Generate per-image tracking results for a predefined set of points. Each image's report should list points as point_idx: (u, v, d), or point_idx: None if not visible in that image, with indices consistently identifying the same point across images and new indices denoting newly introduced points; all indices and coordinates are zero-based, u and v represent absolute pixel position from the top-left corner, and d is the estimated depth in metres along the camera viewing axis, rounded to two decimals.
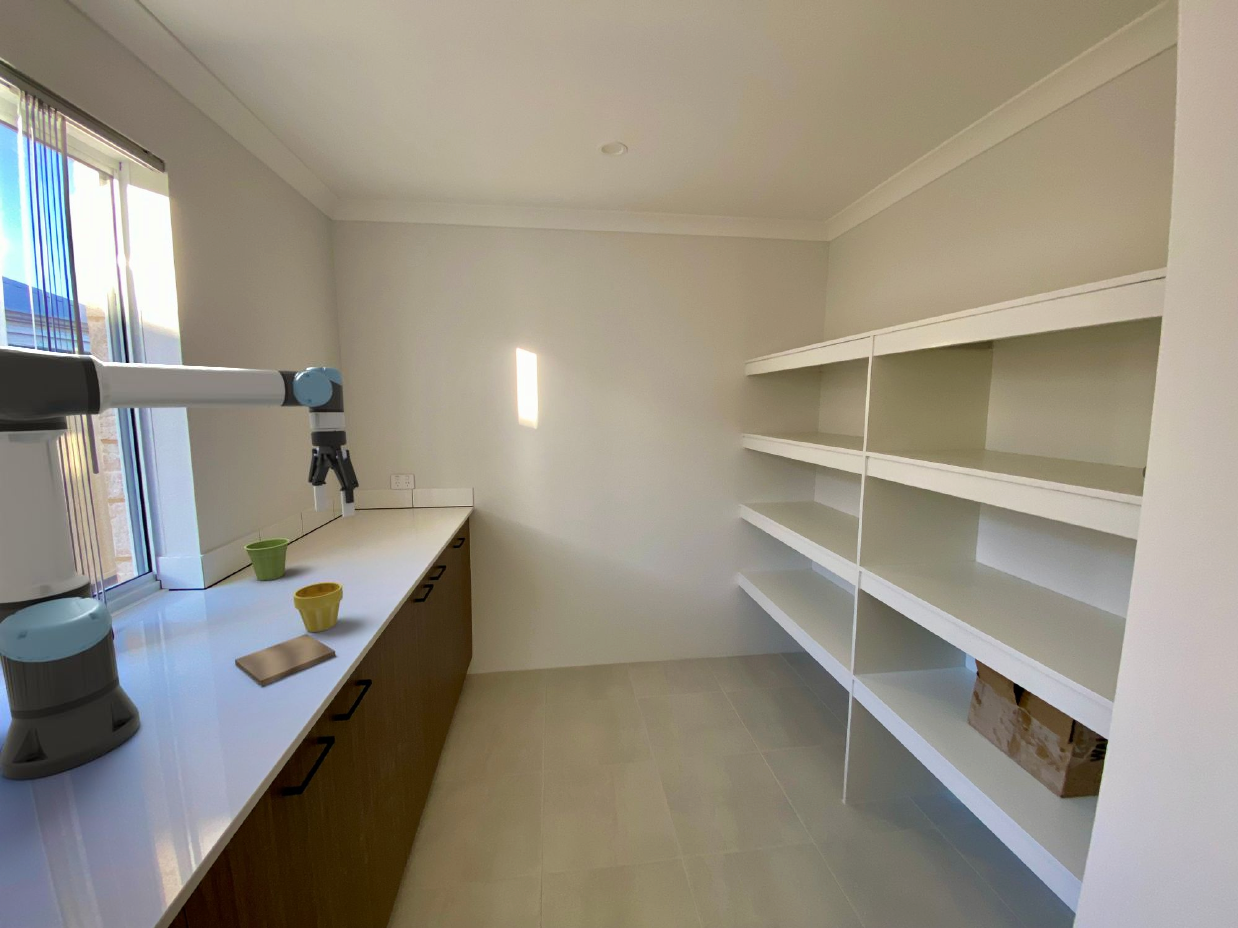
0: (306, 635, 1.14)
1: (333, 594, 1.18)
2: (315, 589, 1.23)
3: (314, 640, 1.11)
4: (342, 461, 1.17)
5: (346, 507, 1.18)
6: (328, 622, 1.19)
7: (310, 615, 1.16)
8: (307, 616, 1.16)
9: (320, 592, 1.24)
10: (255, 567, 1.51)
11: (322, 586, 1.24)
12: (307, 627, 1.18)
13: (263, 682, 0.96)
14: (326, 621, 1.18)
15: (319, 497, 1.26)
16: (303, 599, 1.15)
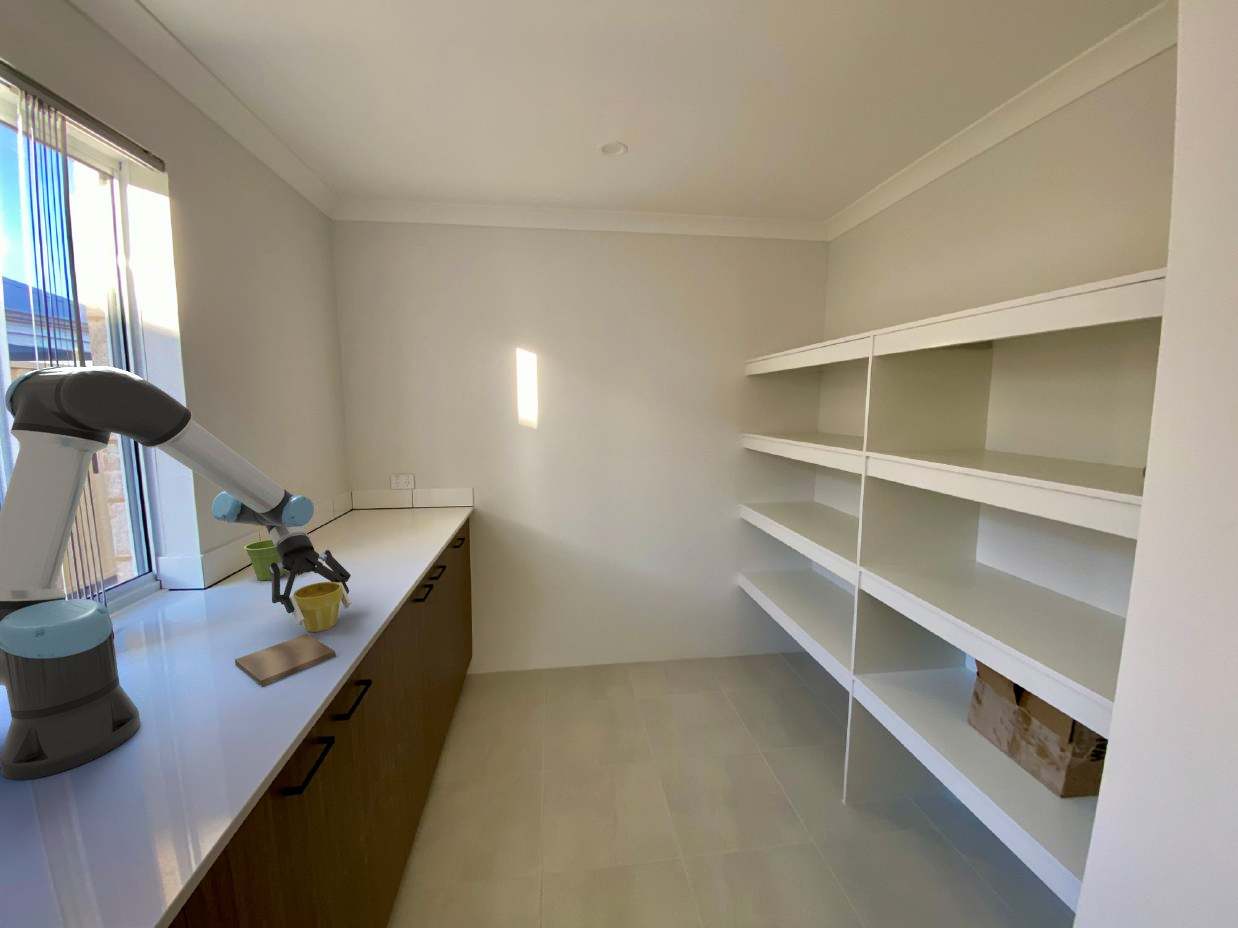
0: (306, 635, 1.14)
1: (333, 594, 1.18)
2: (315, 589, 1.23)
3: (314, 640, 1.11)
4: None
5: None
6: (328, 622, 1.19)
7: (310, 615, 1.16)
8: (307, 616, 1.16)
9: (320, 592, 1.24)
10: (255, 567, 1.51)
11: (322, 586, 1.24)
12: (307, 627, 1.18)
13: (263, 682, 0.96)
14: (326, 621, 1.18)
15: None
16: (303, 599, 1.15)
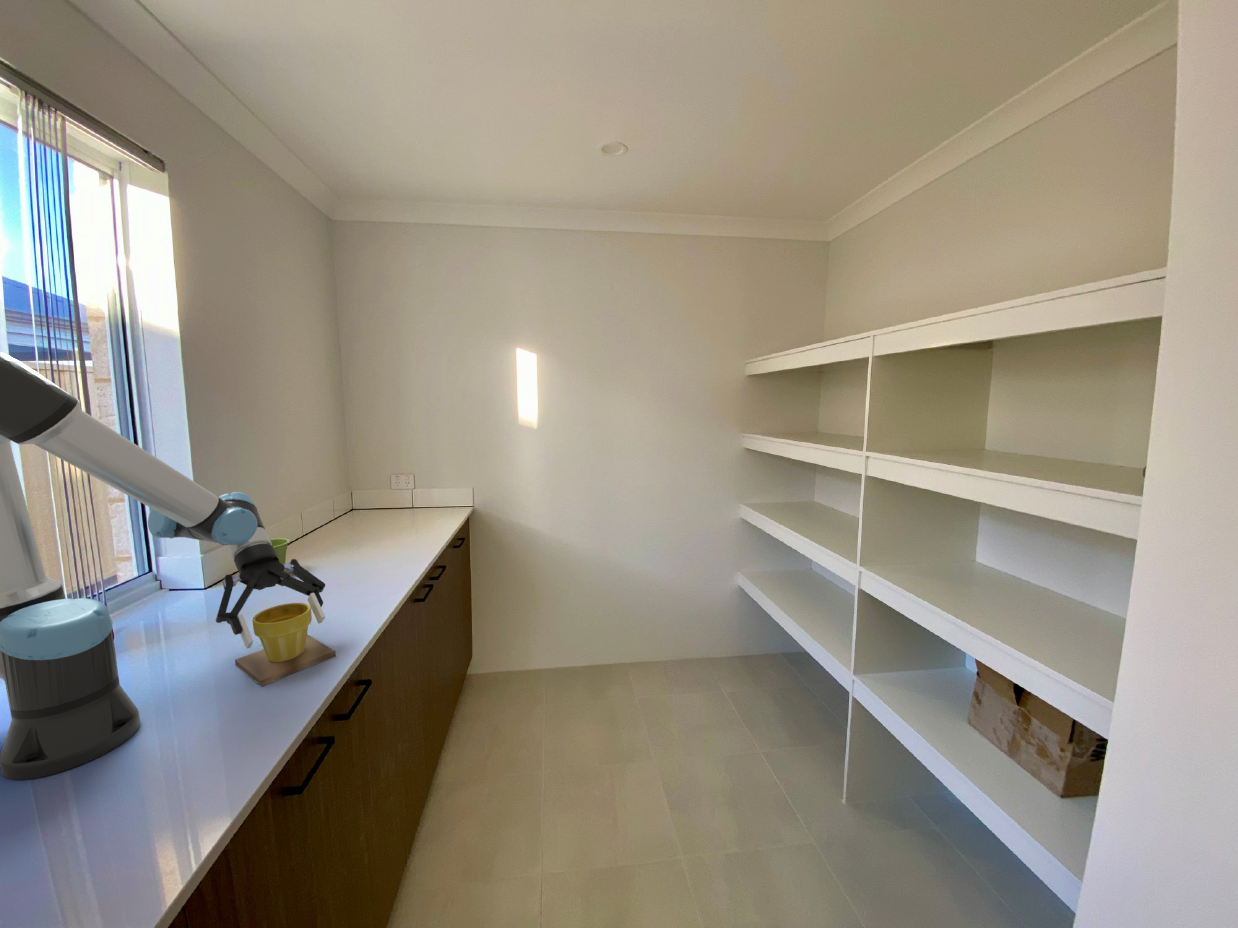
0: None
1: (299, 618, 1.02)
2: (280, 612, 1.07)
3: (314, 640, 1.11)
4: None
5: None
6: (293, 650, 1.03)
7: (272, 644, 1.00)
8: (268, 644, 1.00)
9: (286, 615, 1.08)
10: None
11: (288, 608, 1.08)
12: (269, 656, 1.02)
13: (263, 682, 0.96)
14: (291, 649, 1.02)
15: None
16: (263, 625, 0.99)
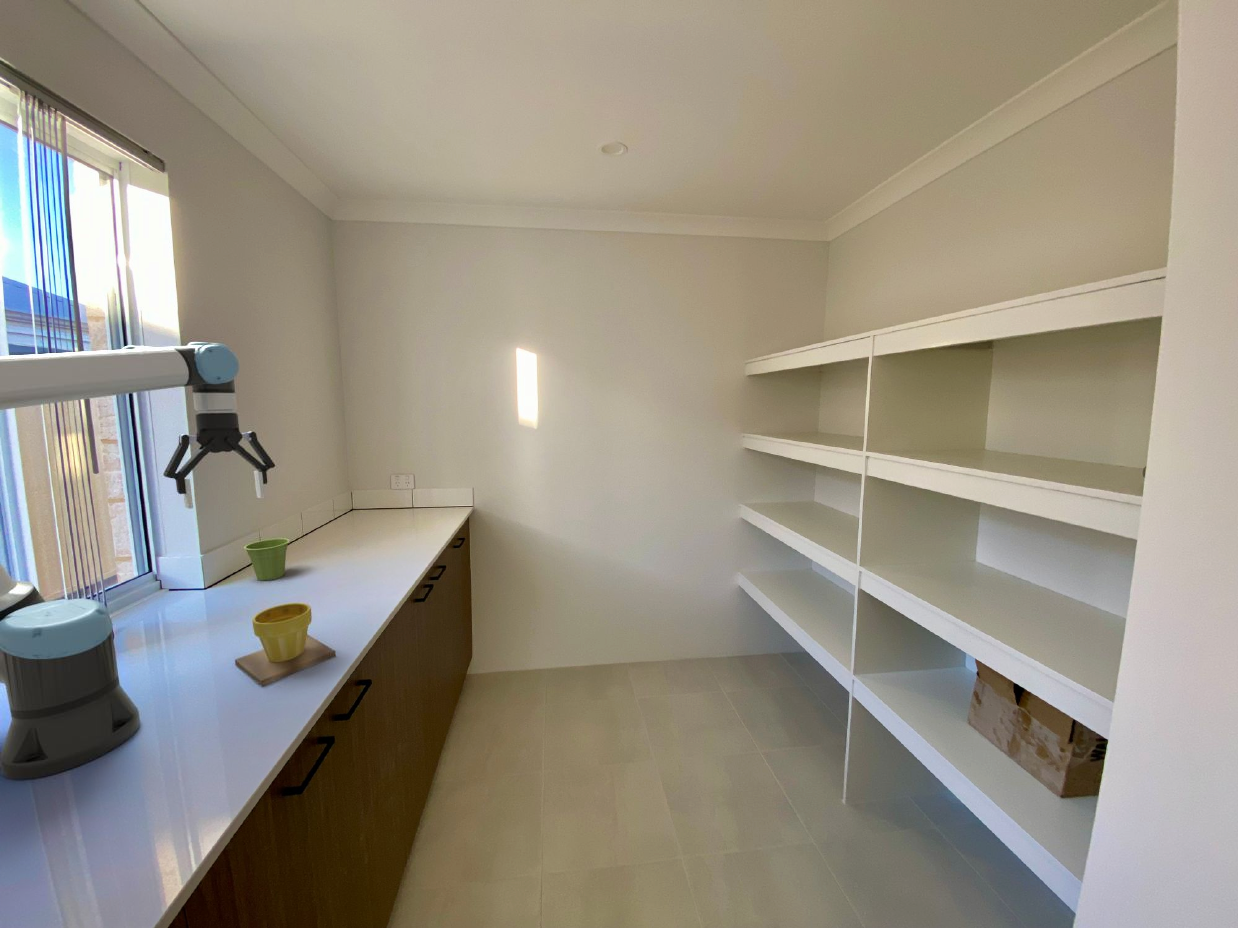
0: None
1: (299, 618, 1.02)
2: (281, 612, 1.07)
3: (314, 640, 1.11)
4: None
5: None
6: (293, 650, 1.03)
7: (272, 644, 1.00)
8: (268, 644, 1.00)
9: (286, 615, 1.08)
10: (255, 567, 1.51)
11: (288, 608, 1.08)
12: (269, 657, 1.02)
13: (263, 682, 0.96)
14: (291, 650, 1.02)
15: None
16: (263, 625, 0.99)
